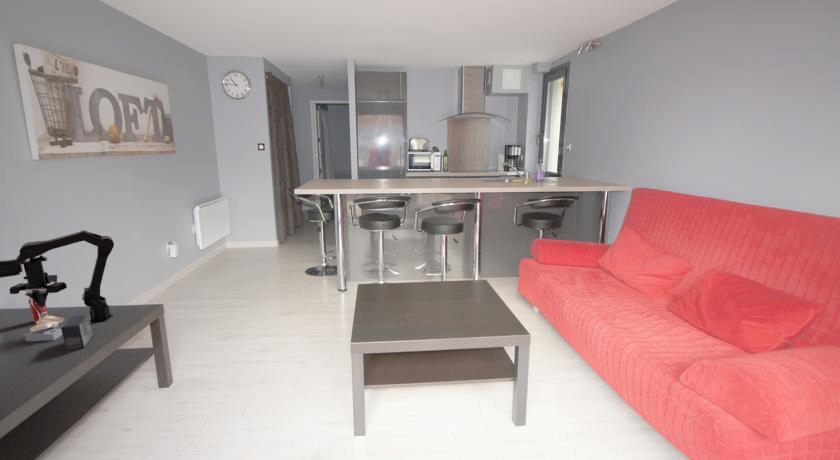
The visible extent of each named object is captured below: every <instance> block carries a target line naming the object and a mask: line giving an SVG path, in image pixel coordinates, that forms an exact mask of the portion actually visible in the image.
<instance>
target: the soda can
mask: <svg viewBox="0 0 840 460" xmlns="http://www.w3.org/2000/svg"><path fill="white" fill-rule="evenodd" d="M28 305H29V308H30V313H31V317H32V321H33V323H35V324H36V322H37V321H38V320H40V319H43V318H44V317H46V316H47V315H48V316H49V314H48V308H47V303H45V306H44V307H40V306H39V305H38V304H37V303H36V302H35V301H34V300H33V299H31V298H30V297H29V296H28Z"/></svg>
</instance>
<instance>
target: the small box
mask: <svg viewBox="0 0 840 460" xmlns="http://www.w3.org/2000/svg"><path fill="white" fill-rule="evenodd" d="M90 320H91V317H90V313H89V314H81V315H80V314H79V315H73V316H70V317H69V319H67V320H66V321H65V322H66V323H65V324H64V325H63V326H62V327H61V331H62V335H61V336H62V337H63V343H64V347H65V351H67V350H68V351H74V350H79V349H84V348H86V347H87V345H89V343H90V341H92V339H93V338H94V336H95V335H94V331H93V327H92V324H91V322H90Z"/></svg>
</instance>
